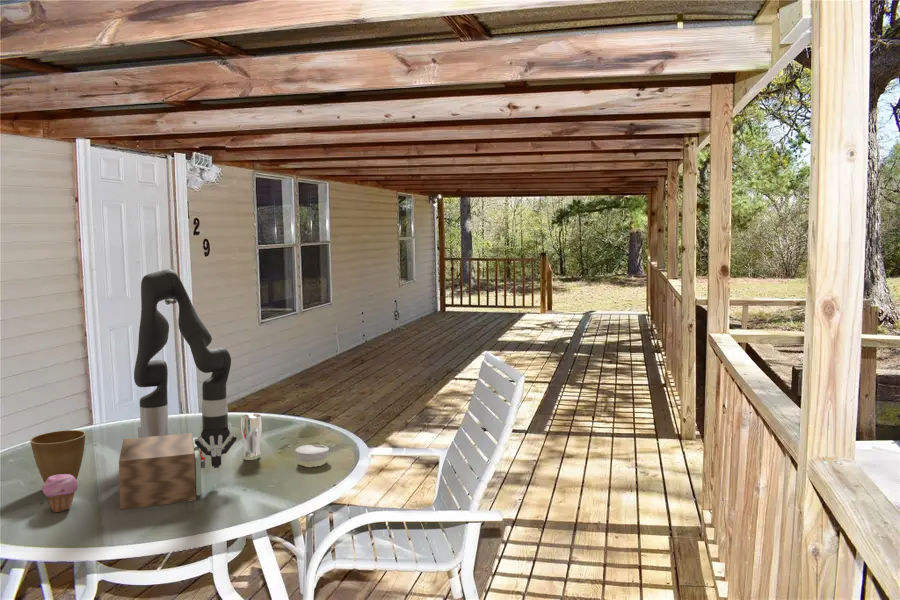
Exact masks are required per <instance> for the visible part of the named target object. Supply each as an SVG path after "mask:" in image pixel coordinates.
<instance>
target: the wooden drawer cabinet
mask: <svg viewBox="0 0 900 600" xmlns="http://www.w3.org/2000/svg"><path fill="white" fill-rule="evenodd" d="M119 453H120V455H119V459H118V472H119V473H118V474H119V503H120V510H121V511H122V510H129V509H139V508H146V507H152V506H161V505H169V504H179V503H185V502H184V501H187V502H191V501H190V500H195V501H197V498H196V496H197V495H196V493H195V456H194V447H193V433H192V432H188V433H186V432H185V433H176V434H175V433H174V434H169V435H163V436H152V437H141V438H138V437H133V438H131V437H130V438H123V439H122V446H121V450H120V452H119ZM178 502H179V503H178Z"/></svg>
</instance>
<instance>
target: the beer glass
mask: <svg viewBox="0 0 900 600" xmlns="http://www.w3.org/2000/svg"><path fill="white" fill-rule="evenodd" d="M240 418H241V420H240V421H241V423H240V431H241V432H240V433H241V439H242V443H243V455H244V456H246V457H253V456H257V455H259V454H261V450H260V449H261V448H260V447H261V445H260V444H261V439H262V431H263V428H262V426H263V424H262V416H261V414H258V413H247V414H243V415H241V417H240Z"/></svg>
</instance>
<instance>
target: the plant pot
mask: <svg viewBox="0 0 900 600" xmlns="http://www.w3.org/2000/svg"><path fill="white" fill-rule="evenodd" d="M29 443H30V447H31V451H32V454H33V458H34V460H35V465H36V467H37V470H38V472H39V474H40V477H41V479H42V481H43V484H44V483H45V482H46V480H47V479H48V478H49V477H50V476H53V475H58V474H70V475H73V476H74V478H75V479H76V480H78V476H79V473H80V470H81V467H82V462H83V457H84V451H85V444H86V432H85V431H83V430H77V429H76V430H75V429H69V430H68V429H67V430H58V431H57V430H56V431H51V432H46V433H42V434H41V433H40V434H38V435H36V436H33V437H32V438H30V440H29Z"/></svg>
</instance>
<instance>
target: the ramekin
mask: <svg viewBox="0 0 900 600" xmlns="http://www.w3.org/2000/svg"><path fill="white" fill-rule="evenodd" d="M294 451H295V455H296V460H297V459H298V460H299V461H303V462H310V461H318V460H321V459H324V458H326V457H327V456H329V452H330V448H329V446H327V445H322V444H306V445H305V444H304V445H301V446H298V447H297V448H296V449H295V450H294ZM327 458H328V457H327Z"/></svg>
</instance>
